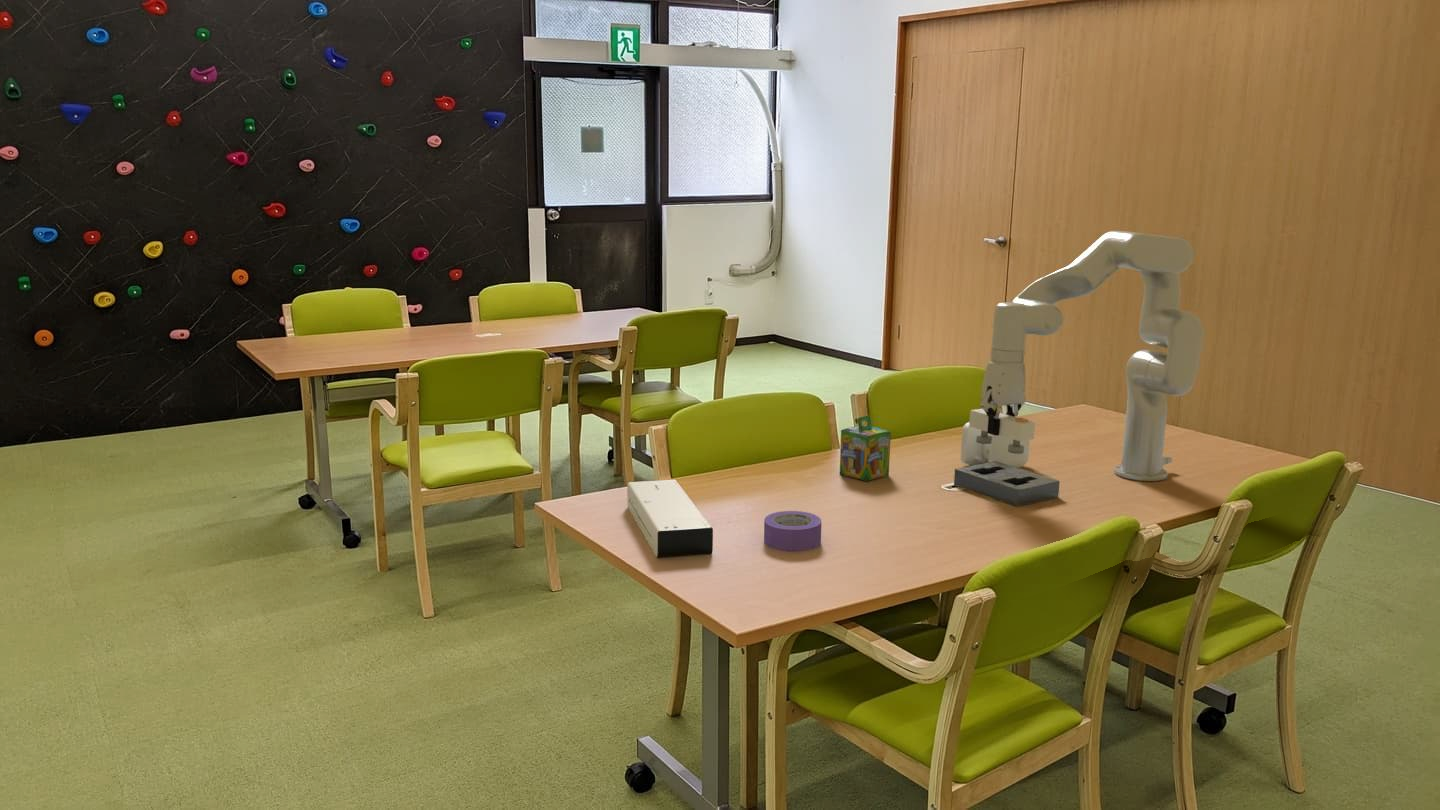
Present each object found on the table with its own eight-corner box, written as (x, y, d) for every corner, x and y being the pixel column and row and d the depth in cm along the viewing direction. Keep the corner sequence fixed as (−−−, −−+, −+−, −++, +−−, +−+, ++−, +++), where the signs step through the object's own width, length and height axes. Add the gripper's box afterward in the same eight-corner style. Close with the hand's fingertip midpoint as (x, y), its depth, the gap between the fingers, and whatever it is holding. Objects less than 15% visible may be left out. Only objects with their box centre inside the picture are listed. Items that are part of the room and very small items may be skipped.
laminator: (627, 508, 258) (627, 482, 256) (680, 505, 261) (681, 479, 259) (657, 561, 226) (657, 531, 224) (718, 556, 229) (718, 527, 227)
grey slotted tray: (994, 476, 285) (995, 461, 284) (1058, 497, 269) (1059, 480, 268) (953, 484, 278) (954, 469, 277) (1016, 506, 261) (1018, 490, 260)
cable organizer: (990, 475, 286) (993, 430, 284) (958, 466, 294) (960, 422, 292) (1028, 466, 295) (1032, 422, 292) (996, 457, 303) (999, 414, 301)
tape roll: (779, 555, 229) (779, 531, 228) (754, 537, 239) (754, 514, 238) (831, 548, 234) (832, 524, 233) (804, 530, 244) (805, 507, 243)
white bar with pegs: (981, 438, 277) (983, 405, 275) (1032, 453, 264) (1035, 419, 262) (968, 440, 275) (970, 407, 273) (1019, 455, 262) (1022, 421, 260)
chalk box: (866, 482, 279) (869, 423, 276) (838, 474, 285) (840, 416, 282) (890, 475, 285) (893, 417, 282) (862, 467, 292) (864, 411, 288)
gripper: (1020, 351, 272) (1013, 426, 276) (969, 356, 263) (963, 433, 267) (1044, 356, 266) (1037, 432, 270) (993, 361, 257) (987, 440, 261)
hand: (1000, 432), depth 269 cm, fingers closed on white bar with pegs, 4 cm apart
